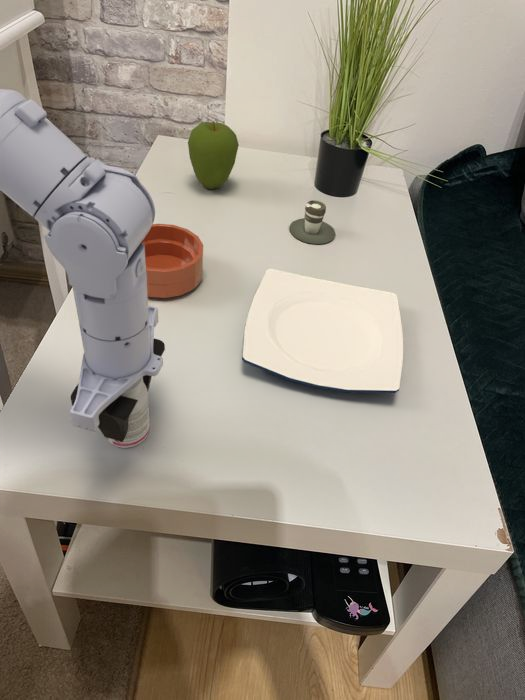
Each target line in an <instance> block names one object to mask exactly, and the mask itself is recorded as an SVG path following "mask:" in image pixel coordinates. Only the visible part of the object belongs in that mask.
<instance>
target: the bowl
mask: <svg viewBox="0 0 525 700" xmlns="http://www.w3.org/2000/svg"><path fill="white" fill-rule="evenodd" d="M142 243H143V244H144V246H145V263H146V275H147V294H148V297H150V298H161V299H169V298H173V297H180V296H183V295H185V294H187V293H189V292H191V291H193V290H194V289H196V288H197V286H198V285H199V284H200V282H202V279H203V264H204V243H203V242H202V241H201V238H200V237H199V236H198V235H197V234H195V233H194V232H192V231H191V230H189V229H187V228H185V227H182V226H178V225H176V224H169V223H168V224H167V223H153V224H152V226H151V229H150V231H149V232H148V234H147V235H146V236H145V238H144V239H143V240H142Z"/></svg>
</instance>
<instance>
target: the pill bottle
mask: <svg viewBox="0 0 525 700" xmlns="http://www.w3.org/2000/svg"><path fill="white" fill-rule="evenodd" d="M121 396H125V397H128V398H132V399H136V400H138V401H137V403H136V405H135V407H134V409H133V411H132V412H131V414H130V416H129V420H128V431H127V434H126V437H125V439H124V440H123V441H118V440H114V439H110V438H107V437H105V439H106V441H108V443H109V444H111V445H112V446H115V447H117V448H122V449H123V448H125V449H126V448H132V447H136V446H138V445H139V444H141V443H143V441H145V439H146V438H147V437H148V435H149V433H150V429H151V424H150V423H151V422H150V411H149V410H150V408H149V390H148V391H147V388H146V385H145V384H144V382H143V377H142V378H140V379H139V380H138V381H137V382H136V383H134V384H133V385H132V386H131V387H130V388H128V389H127V390H126V391H125V392H124V393H123V394H121Z"/></svg>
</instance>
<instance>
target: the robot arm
mask: <svg viewBox="0 0 525 700" xmlns="http://www.w3.org/2000/svg"><path fill="white" fill-rule="evenodd" d="M47 116H48V113H47V111H46V110H45V109H44V108H43V107H42V106H40V105H39V104H38V103H37V102H36V101H35V100H34V99H32V98H31V99H27V98H26V97H25V96H24V95H23V94H22V93H20V92H19V91H17V90H14V89H5V88H0V191H1V192H2V193H3V194H5V195H6V196H7V197H8V198H9V199H11V200H12V202H14V203H15V204H16V205H18V206H19V208H21V209H22V210H23V211H25V212H26V213H27V214H28V215H30V216H31V217H32V218H34V219H35V220H36V221H37V222H38V223H39V224H41V225H42V226H43V227H44V228H45V229H47V230H48V233H47V234H45V235H44V236H43V238H44V242H45V244H46V246H47V248H48V250H49V251H50V253H51V255H52V256H53V257H54V258H55V260H56V261H57V262H58V263H59V264H60V265H61V266H62V267H63V269H64V270H65V272H66V276H67V281H68V285H69V286H71V287H72V292H73V296H74V297H73V298H74V303H75V308H76V313H77V319H78V326H79V331H80V336H81V342H82V347H83V355H82V361H81V366H80V373H79V379H78V383H77V384H76V386H75V387H74V389H73V391H72V392H71V394H70V402H71V409H70V410H69V416H70V419H71V424H72V426H73V427H75V428H79V429H83V430H86V431H90V432H96V431H97V429H99V431H100V432H101V433H102V435H103V437H104V438H106V437H107V438H110V439H114V440H118V441H123V440H124V439H125V437H126V434H127V431H128V420H129V416H130V414H131V412H132V411H133V409H134V407H135V405H136V403H137V401H138V400H136V399H132V398H128V397H125V396H121V394H123V393H124V392H125V391H126V390H127V389H128V388H130V387H131V386H132V385H133V384H134V383H136V382H137V381H138V380H139V379H140V378H142V377H143V382H144V384H145V385H146V388H147V391H148V392H149V390H150V386H151V382H152V377H156V376H158V375H159V373H160V371H161V369H162V367H163V366H164V358H163V357H162V356H163V355H164V352H165V350H166V344H165V342H164V341H162V340H161V339H158V338H155V328H156V327H157V325H158V323H159V308H158V307H156V306H151V305H149V298H148V294H147V275H146V263H145V246H144V244H143V243H142V240H143V239H144V238H145V236H146V235H147V234H148V232H149V231H150V229H151V226H152V224H154V222H155V217H156V208H155V203H154V200H153V198H152V196H151V194H150V192H149V191H148V189H147V188H146V187H145V186H144V184H142V183H141V181H140V179H139V177H137V175H136V174H134V173H132V172H131V171H128V170H126V169H124V168H122V167H117V166H112V165H107V164H106V163H103V162H102V161H101V160H100V159H99V158H96V159H95V158H94V157H92V156H90V157H89V155H87V154H86V153H85V152H84V151H83V150H82V149H81V148H80V147H79V146H77V145H76V144H75V142H73V141H72V140H71V139H70V138H69V137H68V136H67V135H66V134H65V133H64V132H62V131H61V129H59V128H58V127H57V126H56V125H55V124H53V122H52V121H50V120H49V119H48V118H47Z"/></svg>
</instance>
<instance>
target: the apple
mask: <svg viewBox="0 0 525 700" xmlns="http://www.w3.org/2000/svg"><path fill="white" fill-rule="evenodd" d="M239 145H240V144H239V141H238V137H237V134H236V133H235V131H234V130H233V129H232V128H230V126H228V125H227V124H225V123H221V122H215V121H202V122H200V123H199V124H198V125H196V126H195V127H194V128H192V130H191V132H190V135H189V137H188V140H187V146H188V155H189V160H190V163H191V166H192V169H193V172H194V175H195V178H196V180H197V181H198V182H199V184H200V185H201V186H202V187H203V188H204V189H208V190H215V189H219V188H220V187H221V186H222V185H224V184H225V183H226V182H227V181H228V180H229V177H230V175H231V173H232V170H233V168H234V165H235V163H236V158H237V154H238V149H239Z"/></svg>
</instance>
